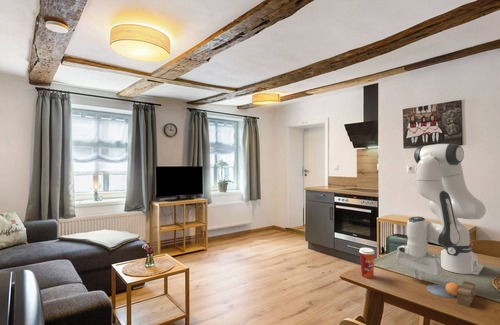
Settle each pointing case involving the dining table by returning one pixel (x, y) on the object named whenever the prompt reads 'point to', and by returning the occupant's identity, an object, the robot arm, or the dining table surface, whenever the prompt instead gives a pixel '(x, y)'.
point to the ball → (452, 288)
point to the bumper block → (466, 293)
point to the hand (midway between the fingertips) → (418, 278)
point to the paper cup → (367, 262)
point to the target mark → (439, 290)
